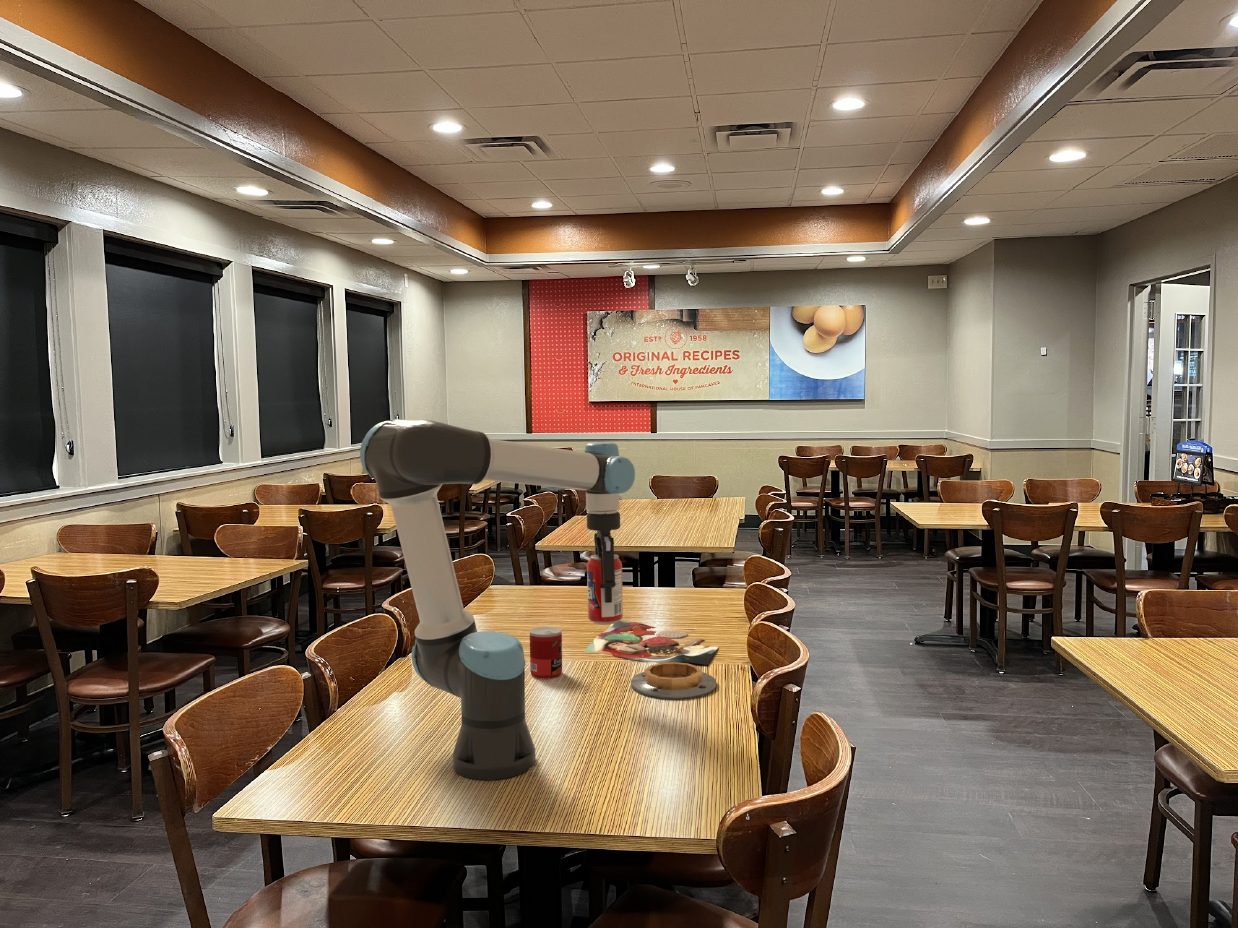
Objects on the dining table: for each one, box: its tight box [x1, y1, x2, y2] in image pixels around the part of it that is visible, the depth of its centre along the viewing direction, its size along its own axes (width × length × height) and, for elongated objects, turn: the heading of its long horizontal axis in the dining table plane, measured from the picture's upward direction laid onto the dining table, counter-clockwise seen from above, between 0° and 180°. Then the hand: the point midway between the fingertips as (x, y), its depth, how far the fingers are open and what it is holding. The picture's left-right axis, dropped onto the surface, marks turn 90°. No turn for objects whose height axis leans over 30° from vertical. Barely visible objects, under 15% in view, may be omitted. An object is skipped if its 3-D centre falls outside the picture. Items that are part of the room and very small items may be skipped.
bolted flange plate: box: [630, 662, 717, 700], centre depth 203 cm, size 20×20×4 cm
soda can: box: [586, 553, 624, 626], centre depth 193 cm, size 8×8×15 cm
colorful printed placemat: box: [583, 620, 719, 666], centre depth 239 cm, size 35×35×2 cm
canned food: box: [529, 626, 563, 680], centre depth 212 cm, size 8×8×11 cm
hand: (605, 611), depth 194 cm, fingers closed on soda can, 8 cm apart
